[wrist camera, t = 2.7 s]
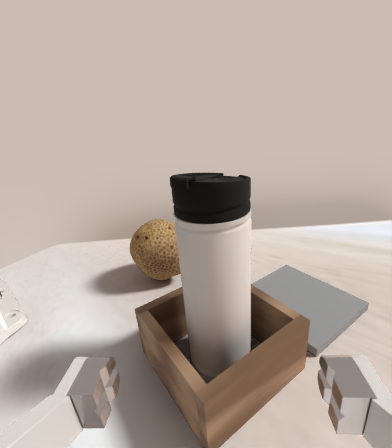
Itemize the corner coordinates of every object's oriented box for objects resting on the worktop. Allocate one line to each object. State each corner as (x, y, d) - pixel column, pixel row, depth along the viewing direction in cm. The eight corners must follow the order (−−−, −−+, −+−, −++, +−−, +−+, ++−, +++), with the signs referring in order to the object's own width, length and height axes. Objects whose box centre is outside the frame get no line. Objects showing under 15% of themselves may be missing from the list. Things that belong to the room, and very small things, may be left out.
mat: (235, 299, 36) (235, 293, 35) (286, 270, 41) (286, 264, 41) (316, 356, 26) (317, 349, 26) (367, 309, 32) (368, 302, 31)
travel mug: (176, 363, 27) (148, 174, 19) (216, 327, 31) (205, 160, 24) (223, 403, 23) (211, 182, 15) (262, 354, 27) (267, 163, 19)
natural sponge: (142, 263, 47) (133, 212, 43) (190, 260, 46) (185, 208, 43) (131, 295, 38) (118, 234, 35) (190, 291, 38) (183, 230, 34)
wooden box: (143, 351, 29) (134, 309, 26) (225, 305, 35) (223, 267, 32) (209, 456, 19) (203, 404, 17) (304, 367, 25) (310, 320, 23)
